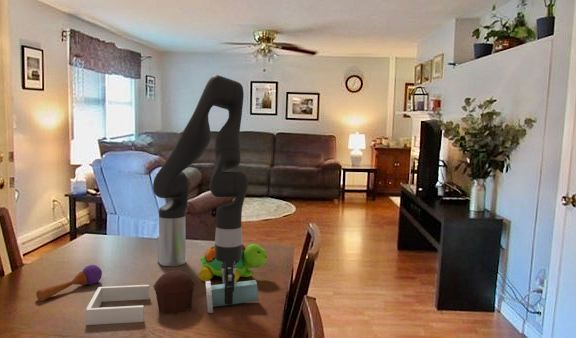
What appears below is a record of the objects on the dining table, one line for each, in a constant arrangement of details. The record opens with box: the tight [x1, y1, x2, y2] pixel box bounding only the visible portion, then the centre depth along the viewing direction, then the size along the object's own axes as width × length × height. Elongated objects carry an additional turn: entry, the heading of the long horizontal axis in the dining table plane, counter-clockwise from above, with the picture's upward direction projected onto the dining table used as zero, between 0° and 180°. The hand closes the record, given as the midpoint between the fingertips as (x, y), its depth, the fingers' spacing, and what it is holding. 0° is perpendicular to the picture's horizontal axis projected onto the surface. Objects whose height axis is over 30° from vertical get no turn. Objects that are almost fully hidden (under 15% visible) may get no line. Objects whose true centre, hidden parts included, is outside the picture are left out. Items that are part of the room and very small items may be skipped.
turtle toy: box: [198, 243, 268, 282], centre depth 157 cm, size 17×23×12 cm
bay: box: [85, 284, 150, 326], centre depth 128 cm, size 14×16×4 cm
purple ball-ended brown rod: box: [36, 264, 103, 302], centre depth 142 cm, size 6×6×20 cm
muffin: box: [152, 270, 196, 315], centre depth 131 cm, size 12×11×10 cm
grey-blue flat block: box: [205, 279, 259, 314], centre depth 134 cm, size 14×11×5 cm
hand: (228, 300), depth 134 cm, fingers closed on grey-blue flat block, 3 cm apart
